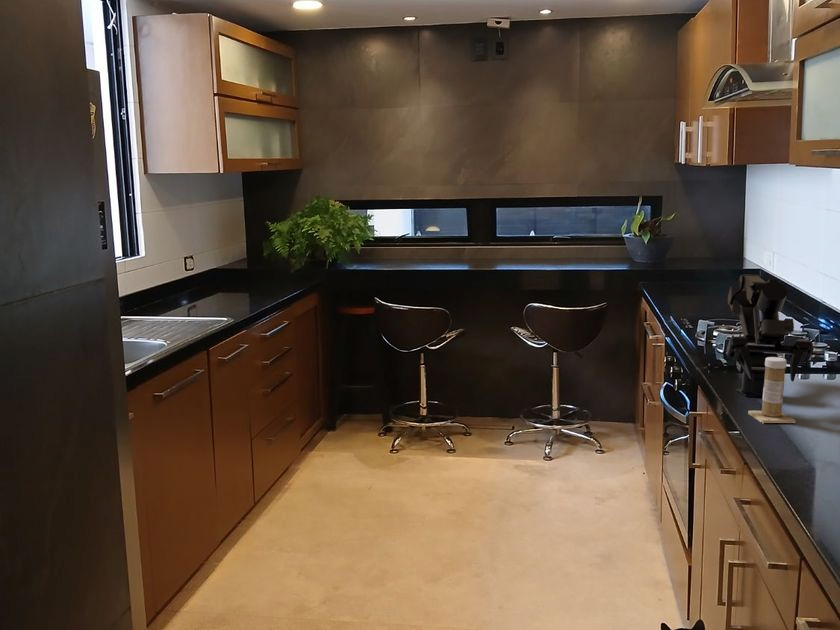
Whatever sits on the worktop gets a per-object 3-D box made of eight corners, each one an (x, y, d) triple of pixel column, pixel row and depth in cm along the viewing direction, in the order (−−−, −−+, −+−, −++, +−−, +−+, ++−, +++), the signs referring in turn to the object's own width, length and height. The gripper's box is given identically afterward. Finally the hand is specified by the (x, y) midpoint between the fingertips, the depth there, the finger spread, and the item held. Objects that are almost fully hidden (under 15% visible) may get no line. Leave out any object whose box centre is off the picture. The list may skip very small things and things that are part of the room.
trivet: (748, 413, 199) (748, 410, 199) (779, 413, 199) (779, 410, 199) (763, 423, 191) (763, 419, 191) (795, 423, 191) (795, 419, 191)
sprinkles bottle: (767, 411, 198) (772, 355, 196) (785, 415, 195) (790, 359, 192) (756, 414, 195) (761, 357, 193) (775, 418, 192) (780, 361, 190)
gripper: (732, 304, 200) (735, 359, 192) (815, 307, 196) (823, 364, 188) (725, 329, 209) (728, 383, 201) (804, 333, 205) (811, 388, 197)
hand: (771, 379), depth 196 cm, fingers open, 9 cm apart
